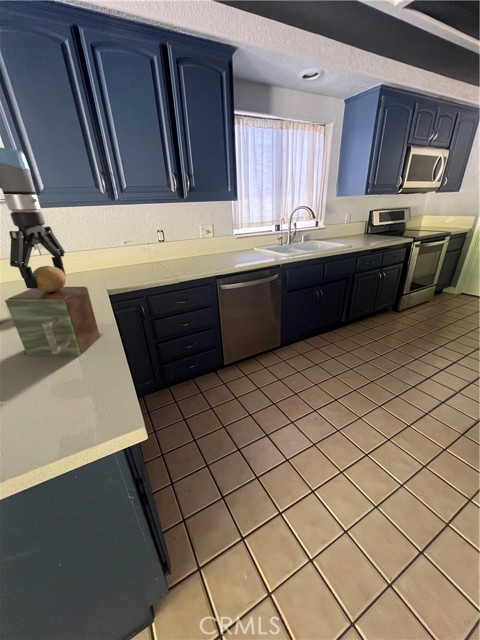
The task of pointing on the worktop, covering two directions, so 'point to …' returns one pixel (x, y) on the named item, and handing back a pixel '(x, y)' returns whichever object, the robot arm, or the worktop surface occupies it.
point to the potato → (49, 278)
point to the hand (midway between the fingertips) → (48, 281)
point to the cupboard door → (44, 326)
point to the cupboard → (72, 311)
